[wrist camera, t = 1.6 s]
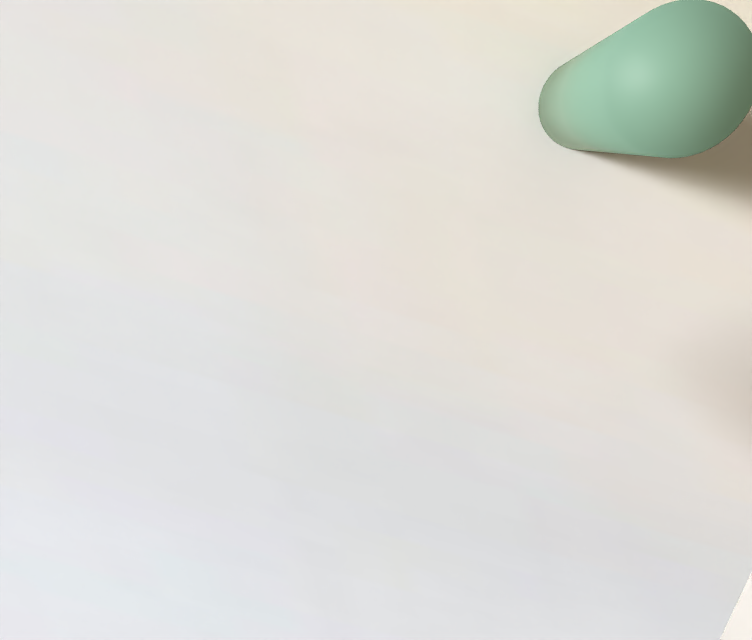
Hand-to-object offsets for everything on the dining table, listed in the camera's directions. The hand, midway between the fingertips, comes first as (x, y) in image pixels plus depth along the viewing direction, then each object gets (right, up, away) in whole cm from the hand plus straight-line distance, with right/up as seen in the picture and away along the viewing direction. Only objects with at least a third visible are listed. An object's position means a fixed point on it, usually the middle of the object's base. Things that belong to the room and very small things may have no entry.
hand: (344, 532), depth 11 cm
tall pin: (+11, +14, +21) cm, 28 cm away
